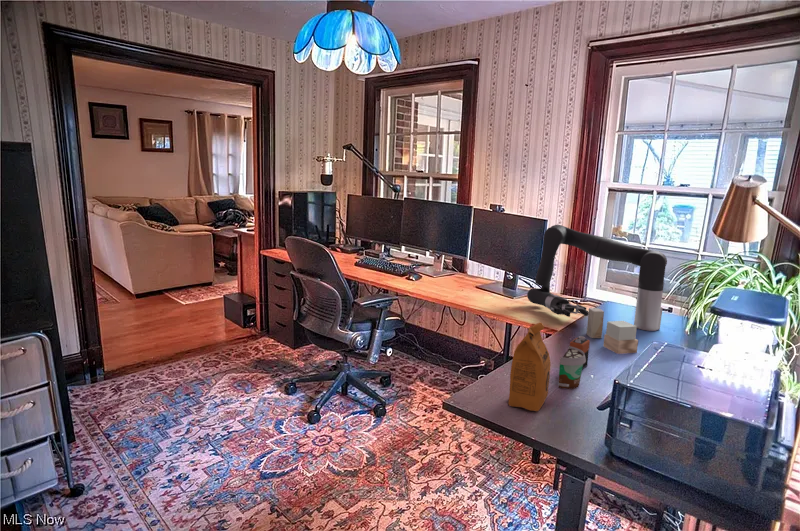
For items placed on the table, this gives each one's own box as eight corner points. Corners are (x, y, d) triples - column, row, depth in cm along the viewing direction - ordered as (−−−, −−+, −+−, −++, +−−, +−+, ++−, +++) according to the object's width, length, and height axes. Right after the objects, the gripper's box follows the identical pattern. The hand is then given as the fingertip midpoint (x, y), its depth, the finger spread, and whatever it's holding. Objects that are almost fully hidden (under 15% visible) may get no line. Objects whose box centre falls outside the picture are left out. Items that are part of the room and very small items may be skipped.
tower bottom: (621, 345, 173) (622, 333, 172) (636, 353, 165) (638, 340, 164) (603, 346, 171) (604, 334, 170) (617, 354, 164) (619, 341, 163)
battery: (587, 365, 152) (590, 337, 150) (580, 371, 147) (583, 342, 145) (574, 362, 155) (577, 334, 153) (567, 367, 150) (569, 339, 148)
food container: (578, 395, 130) (582, 362, 129) (556, 389, 133) (559, 357, 132) (586, 380, 141) (589, 349, 139) (566, 375, 144) (569, 345, 142)
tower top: (622, 333, 172) (623, 320, 171) (635, 339, 165) (636, 326, 164) (605, 334, 170) (607, 321, 169) (618, 340, 163) (620, 327, 163)
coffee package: (553, 399, 127) (560, 324, 123) (538, 417, 117) (545, 335, 113) (519, 389, 133) (524, 317, 129) (502, 405, 123) (507, 327, 119)
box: (601, 338, 180) (604, 311, 178) (590, 338, 180) (593, 311, 178) (596, 334, 185) (599, 308, 183) (585, 333, 185) (588, 307, 183)
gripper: (543, 296, 205) (564, 306, 190) (571, 295, 209) (594, 304, 193) (542, 312, 207) (562, 323, 191) (570, 311, 210) (592, 321, 194)
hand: (578, 314), depth 192 cm, fingers open, 8 cm apart
